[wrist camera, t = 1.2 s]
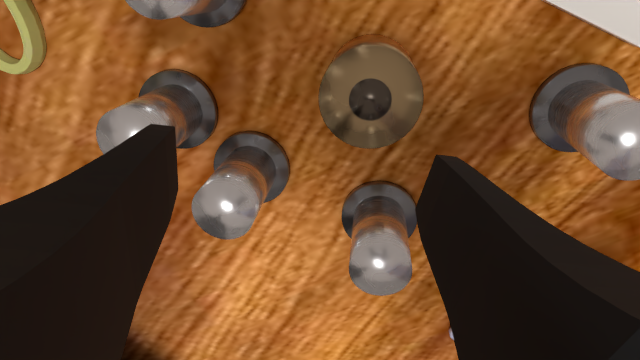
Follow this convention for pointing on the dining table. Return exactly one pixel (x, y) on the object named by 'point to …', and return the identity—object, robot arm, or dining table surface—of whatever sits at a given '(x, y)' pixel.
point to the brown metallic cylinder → (371, 92)
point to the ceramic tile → (606, 16)
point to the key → (25, 39)
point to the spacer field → (373, 197)
